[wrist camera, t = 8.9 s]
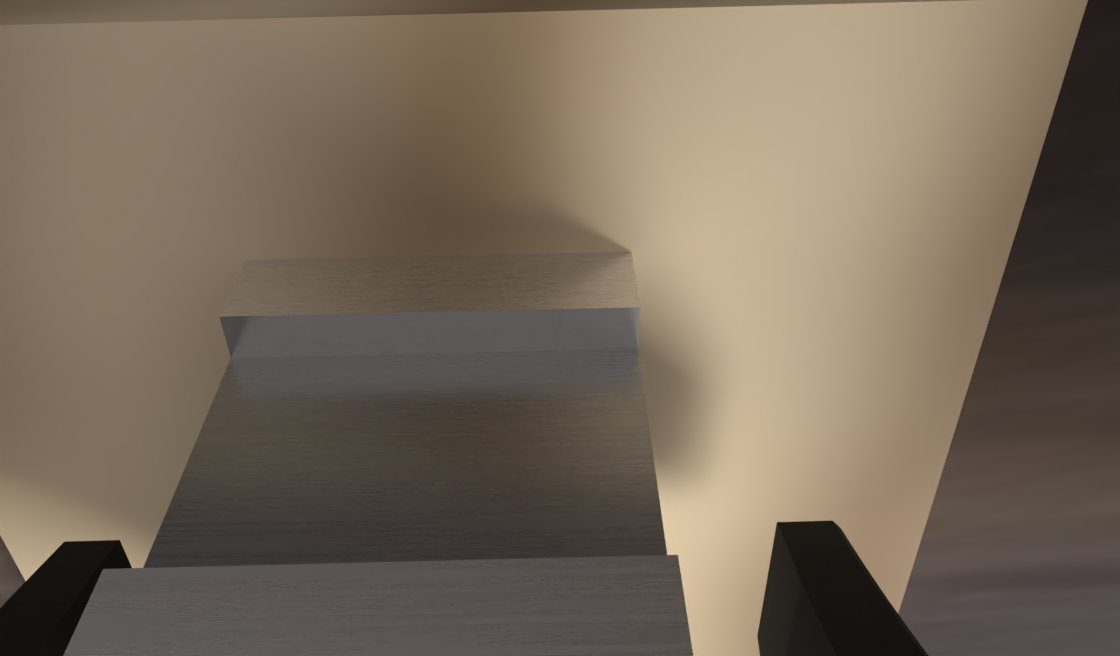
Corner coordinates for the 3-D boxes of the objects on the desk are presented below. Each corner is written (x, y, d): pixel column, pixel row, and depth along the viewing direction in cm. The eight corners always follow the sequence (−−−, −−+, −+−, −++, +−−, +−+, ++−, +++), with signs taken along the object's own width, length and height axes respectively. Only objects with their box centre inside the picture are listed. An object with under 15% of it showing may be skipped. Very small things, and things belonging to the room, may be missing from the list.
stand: (1019, -49, 10) (1088, -3, 8) (836, 659, 17) (859, 739, 15) (-173, -19, 10) (-278, 32, 8) (154, 678, 17) (124, 760, 15)
